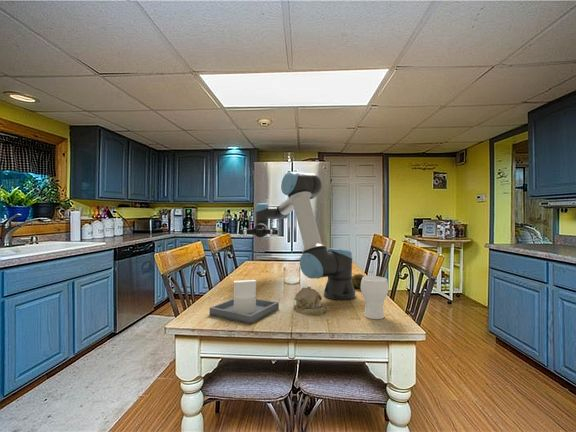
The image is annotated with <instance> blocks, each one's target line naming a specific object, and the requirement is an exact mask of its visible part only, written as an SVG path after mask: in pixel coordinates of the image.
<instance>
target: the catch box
mask: <svg viewBox="0 0 576 432" xmlns="http://www.w3.org/2000/svg"><path fill="white" fill-rule="evenodd" d="M279 307H280V302H278V301H274V300H269V299H268V300H267V299H261V298H257V297H256V311H255V312H253V313H248V314H243V313H238V312H234V298H231V299H229V300H226V301H223V302H221V303H218V304H215V305H213V306H211V307H209V316H211V317H216V318H220V319H226V320H229V321H235V322H238V323H243V324H247V325H252V324H254V323H256V322H258V321H261V319H264V318H265V317H267V316H269V315H271V314H273V313H275V312H277V311H278V310H279Z"/></svg>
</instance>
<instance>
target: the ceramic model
mask: <svg viewBox="0 0 576 432" xmlns="http://www.w3.org/2000/svg"><path fill="white" fill-rule="evenodd" d="M322 299H323V298H322V296H321V294H320V293H319V292H318V290H317V289H314V288H312V287H311V286H306V287H302V288H301V289H300V290H299V291H298V292H297V293H296V294H295V297H294V300H295V303H296V304H294V305H293V310H294V312H296V313H299V314H303V315H309V316H310V315H311V316H319V315H322V314H324V313H325V310H326V307H325V306H322V305H321V301H322Z"/></svg>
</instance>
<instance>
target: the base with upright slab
mask: <svg viewBox="0 0 576 432" xmlns="http://www.w3.org/2000/svg"><path fill="white" fill-rule="evenodd" d="M256 298H257V280H256V279H243V280H241V279H240V280H234V281H233V299H234V312H238V313H243V314H248V313H253V312H255V311H256Z"/></svg>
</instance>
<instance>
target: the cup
mask: <svg viewBox="0 0 576 432" xmlns="http://www.w3.org/2000/svg"><path fill="white" fill-rule="evenodd" d="M360 292H361V295H362V297H363V300H364V305H365V308H364V311H363V312H364V313H363V316H364V317H365V318H367V319H371V320H381V319H384V318H385V313H384V304H385V300H386V298H387V297H388V293H389V282H388V279H387V278H386V277H382V276H378V275H377V276H376V275H367V276H365V275H364V277H363V278H362V281H361V287H360Z"/></svg>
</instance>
